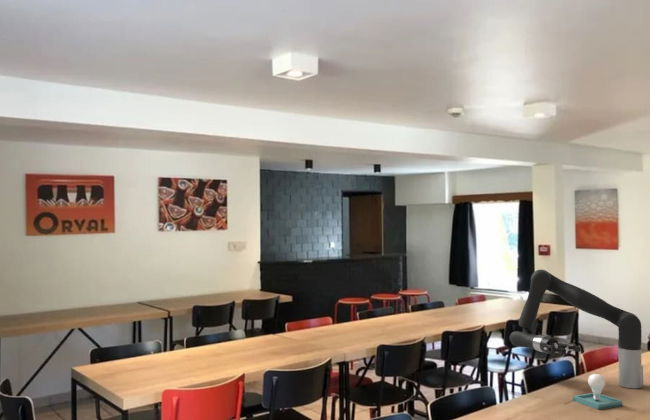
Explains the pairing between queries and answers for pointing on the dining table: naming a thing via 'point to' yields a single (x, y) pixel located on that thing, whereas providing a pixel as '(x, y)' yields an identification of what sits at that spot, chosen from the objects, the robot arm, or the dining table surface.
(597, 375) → the lightbulb
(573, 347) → the robot arm
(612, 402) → the tray
